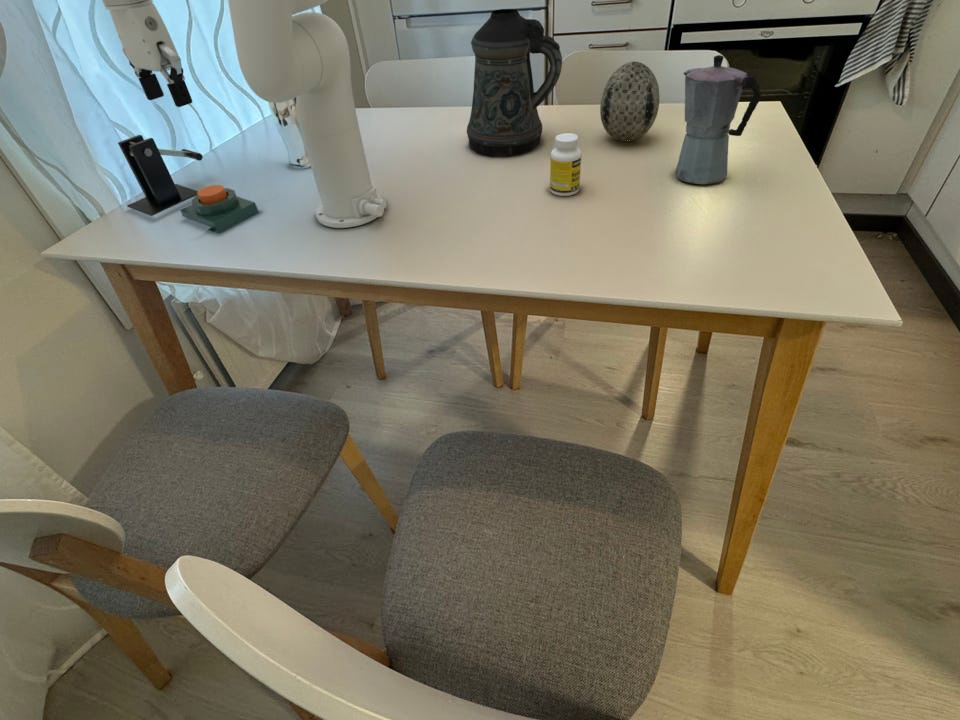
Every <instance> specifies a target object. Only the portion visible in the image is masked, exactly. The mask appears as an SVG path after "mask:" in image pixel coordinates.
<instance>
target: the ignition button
mask: <svg viewBox="0 0 960 720" xmlns="http://www.w3.org/2000/svg"><path fill="white" fill-rule="evenodd" d="M225 188H226V187H225V186H224V185H221V184H210V185H207V186H204V187H202V188H200V189H199V190H197V191H198V192H197V195H198V197H199V199H200V201H201V203H202V204H212V203H216V202H220V201H222V200H224V199H226V197H227V193H226V191H225ZM197 195H196V196H197Z"/></svg>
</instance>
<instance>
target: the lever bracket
mask: <svg viewBox="0 0 960 720" xmlns="http://www.w3.org/2000/svg"><path fill="white" fill-rule="evenodd" d="M129 142H137V143H135V144H132V145H130V146H129ZM117 144H118V146H119V148H120V150H121V152H122V154H123V156H124V158H125V160H126V162H127V164H128V166H129V167H130V170H131V171H132V173H133V176H134V177H135V179H136V181H137V183H138V185H139V187H140V189H141V191H142V193H143V195H144V196H145V197H142V198H140V199H139V200H136V201H134V202H131V203H129V204H127V207H128V208H130V209H133V210H135V211H138V212H140V213H142V214H144V215H147V216H150V217H152V216H154V215H157V214H159V213H162V212H163V211H165V210H168V209H169V208H173V207H175V206H176V205H178V204H181V203H183V202H185V201H186V200H187V201H188V200H189V199H191V198H193V197H196V196H197V192H198V191H199V190H196V189H193V188H190V187H187V186H183V185H180V184H178V183H175V182H174V180H173V177H172V175H171V173H170V171H169V169H168V167H167V165H166V163H165V160H164V158H163V155H161V154H160V152H159V150H158V149H159V148H158V146H157V144H156V142H155V139H154V138H153V137H148V138H146V139H144V137H143V135H142V134H137V135H135V136H131V137H129V138H126V139H124V140H121V141H119V142H117ZM129 148H130V150H131V152H132V154H133V156H131V155H130V151H129Z"/></svg>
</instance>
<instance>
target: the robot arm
mask: <svg viewBox="0 0 960 720" xmlns="http://www.w3.org/2000/svg"><path fill="white" fill-rule="evenodd" d="M101 1H102V3H103V6H104V8H105V10H108V11H109V14H110V18H111V20H112V22H113V25H114V29H115V31H116V33H117V35H118V39H119V40H120V43H121V44H122V52H123V54H124V56H125V57H126V59H127V60H128V62H129V66H131V67H132V69H133V71H134V74H135V76H136V78H138V81H139V83H140V85H141V88H142V90H143V92H144V94H145V97H146V99H147V100H148V101H154V100H157V99H159V98H163V97H164V96H165V93H164V91H163V89H162V86H161V84H160V81H159V79H158V77H157V75H156V73H153V72H157V73H160V74H161V75H162V76H163V77H164V79H165V81H166V82H167V84H166V86H167V88H168V91H169V93H170V96H171V98H172V101H173V103H174V105H175V106H176V107H177V108H181V107H184V106H187V105H190V104H193V99H192V95H191V93H190V92H189V88H188V87H187V86H188V85H187V84H186V77H185V75H184V68H183V67H182V59H181V57H180V55H179V53H178V50H177V48H176V45H175V44H174V42H173V39H172V37H171V35H170V32H169V30H168V28H167V26H166V24H165V22H164V20H163V18H162V16H161V14H160V12H159V10H158V9H157V7H156V5H155V4H154V1H153V0H101ZM227 1H228V8H229V14H230V20H231V21H230V22H231V26H232V32H233V40H234V45H235V51H236V56H237V60H238V64H239V68H240V71H241V73H242V76H243V78H244V80H245V82H246V83H247V86H248V87H249V88H250V90H251V91H252V92H253V93H254V94H255V95H256V96H257V97H258V98H260V99H261V100H263V101H265V102H267V103H268V102H271V103H281V102H285V101H288V100H291V99H293V98H296V110H297V118H298V122H299V126H300V130H301V134H302V137H303V141H304V144H305V147H306V151H307V154H308V158H309V161H310V165H311V167H310V169H311V171H312V174H313V179H314V181H315V186H316V188H317V192H318V195H319V198H320V204H319V205H318V207H317V208H316V209H315V216H316V219H317V221H318V223H320V224H321V225H323V226H325V227H328V228H334V229H345V228H347V229H348V228H352V227H358V226H359V227H360V226H362V225H365V224H368V223H370V222H373V221H375V220H376V219H377V218H380V217H382V216H383V215H384V213H385V208H387V206H388V200H386V199H384V198H383V197H382V196H381V195H379V194H378V192H377V187H374V186H373V184H372V180H371V175H370V171H369V166H368V162H367V157H366V152H365V147H364V144H363V143H364V142H363V139H362V134H361V129H360V125H359V119H358V115H357V110H356V105H355V100H354V93H353V86H352V76H351V75H352V73H351V55H350V48H349V44H348V40H347V37H346V35H345V34H344V31H343V30H342V28H341V27H340V26H339V24H338V23H337V22H336V21H335V20H334V19H333V18H331V17H330V16H328V15H326V14H324V13H321V12H315V11H308V10H311V9H314V8H317V7H318V6H321V5H324V4H326V3H327V2H328V1H329V0H227ZM305 11H308V12H305ZM168 71H169V72H168Z"/></svg>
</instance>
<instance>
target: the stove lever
mask: <svg viewBox="0 0 960 720" xmlns="http://www.w3.org/2000/svg"><path fill="white" fill-rule="evenodd" d="M135 143H137V142H129V146H130V145H132V144H135ZM158 150H159V152H160V154H161V156H170V157H181V158H189V159H192V160H196V161H199V162H200V161H202V160H203V158H204V157H203V154H202V153H200V152H198V151H197V152H196V151H194V150H189V149H187V148H182V149H181V150H177V149H175V150H174V149H165V148H163V149H162V148H158ZM129 151H130V155H131V156H133V154H132V152H131V150H130V148H129Z"/></svg>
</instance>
